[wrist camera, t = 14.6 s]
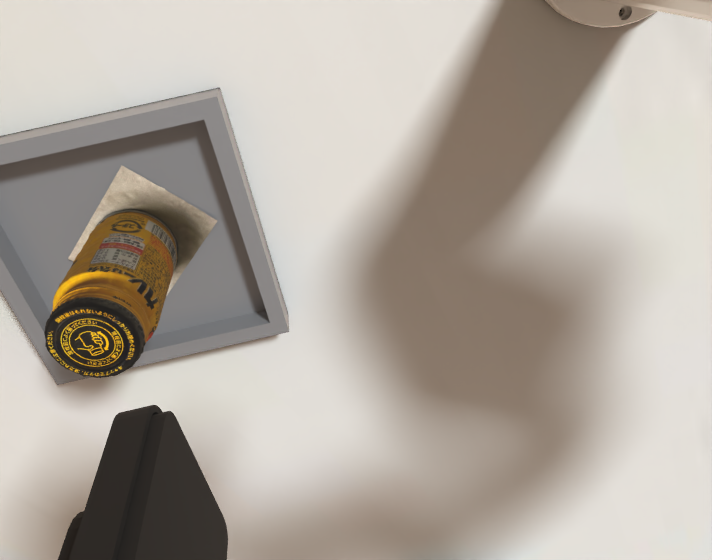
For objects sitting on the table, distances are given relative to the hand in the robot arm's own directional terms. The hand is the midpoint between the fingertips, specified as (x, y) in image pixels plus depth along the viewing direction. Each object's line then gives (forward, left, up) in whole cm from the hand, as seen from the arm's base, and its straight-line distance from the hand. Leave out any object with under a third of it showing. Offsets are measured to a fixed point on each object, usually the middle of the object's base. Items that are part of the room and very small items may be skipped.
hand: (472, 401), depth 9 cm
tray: (+10, -16, -33) cm, 38 cm away
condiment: (+10, -15, -33) cm, 38 cm away
